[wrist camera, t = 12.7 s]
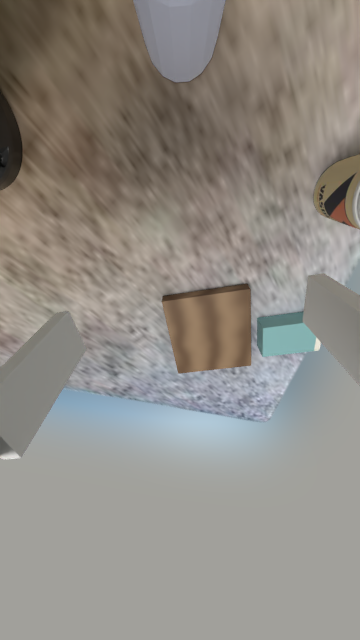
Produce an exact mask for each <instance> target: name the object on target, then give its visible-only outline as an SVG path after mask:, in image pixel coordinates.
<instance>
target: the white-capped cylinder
mask: <svg viewBox="0 0 360 640" xmlns="http://www.w3.org/2000/svg"><path fill="white" fill-rule="evenodd" d="M313 201H314V205H315V208H316V210H317V211H318V212H319V213H320V214H321V215H323V216H325V217H327V218H329V219H332V220H335V221H338V222H340V223H343V224H346V225H349V226H352V227H354V228H357V229H360V154H359V155H356V156H352V157H349V158H346V159H343V160H341V161H338V162H336V163H335V164H333V165H332V166H330V167H329V168H328V169H327V170H326V171H325V172H324V173H323V174H322V175H321V177H320V178H319V180H318V182H317V184H316V187H315V189H314V195H313Z"/></svg>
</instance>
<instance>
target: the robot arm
mask: <svg viewBox="0 0 360 640" xmlns="http://www.w3.org/2000/svg"><path fill="white" fill-rule="evenodd" d="M21 158H22V146H21V139H20V134H19V130H18V127H17V123H16V121H15V118H14V116H13V113H12V111H11V109H10V107H9V105H8V104H7V102H6V100H5V98H4V97H3V95H2V94H1V92H0V190H2V189H4V188H6V187H7V186H9V185H10V184H11V183H12V182H13V181H14V179H15V178H16V176H17V174H18V172H19V169H20V165H21ZM303 322H304V324H305V325H306V326H307V327H308V328H309V329H310V330H311V332H312V333H313V334H314V335H315V336H316V337H317V338H318V339H319V341H320V342H321V343H322V344H323V345H324V346H325V347H326V348H327V350H328V351H329V352H330V353H331V354H332V355H333V356H334V357H335V359H336V360H337V361H338V362H339V363H340V364H341V365H342V367H343V368H344V369H345V370H346V371H347V372H348V373H349V374H350V375H351V377H352V378H353V379H354V380H355V381H356V382H357V383H358V385H359V386H360V295H358V294H356V293H355V292H353V291H351V290H350V289H348V288H347V287H345V286H343V285H342V284H340V283H338V282H337V281H335V280H334V279H332V278H330V277H329V276H327V275H325V274H317V275H310V276H308V281H307V289H306V297H305V305H304V313H303ZM86 349H87V348H86V346H85V344H84V342H83V340H82V338H81V336H80V334H79V331H78V329H77V327H76V325H75V323H74V321H73V319H72V317H71V315H70V312H69V311H65V312H59V313H56V314H55V315H54V316H53V317H52V318H51V319H50V320H49V321H47V322H46V323H45V324H44V325H43V326H42V327H41V328H40V329H39V330H38V331H37V332H36V333H35V334H34V335H33V336H32V337H31V338H30V339H29V340H28V341H27V342H26V343H25V344H24V345H23V346H22V347H21V348H20V349H19V350H18V351H17V352H16V353H15V354H14V355H13V356H12V357H11V358H10V359H9V360H8V361H7V362H6V363H5V364H4V365H3V366H2V367H1V368H0V457H1V458H2V459H14V458H21V457H22V456H23V454H24V452H25V451H26V449H27V447H28V446H29V444H30V442H31V441H32V439H33V437H34V436H35V434H36V432H37V431H38V429H39V427H40V426H41V424H42V422H43V421H44V419H45V417H46V416H47V414H48V412H49V411H50V409H51V407H52V406H53V404H54V403H55V401H56V399H57V398H58V396H59V394H60V393H61V391H62V389H63V388H64V386H65V384H66V383H67V381H68V379H69V378H70V376H71V374H72V373H73V371H74V369H75V368H76V366H77V364H78V363H79V361H80V359H81V358H82V356H83V354H84V353H85V351H86Z"/></svg>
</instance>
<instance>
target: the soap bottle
mask: <svg viewBox="0 0 360 640" xmlns="http://www.w3.org/2000/svg"><path fill="white" fill-rule="evenodd" d="M225 1H226V0H133V2H134V5H135V9H136V13H137V16H138V20H139V23H140V27H141V31H142V34H143V38H144V42H145V45H146V48H147V50H148V53H149V56H150V59H151V61H152V63H153V65H154V66H155V67H156V68H157V70H158V71H159V72H160V73H161V75H162V76H163V77H165V78H168V79H170V80H172V81H174V82H189V81H191V80H192V79H194V78H195V77H197V76H198V75H200V74H201V73H202V72H203V70H204V69H205V67H206V66H207V64H208V63H209V61H210V60H211V58H212V55H213V51H214V48H215V45H216V41H217V38H218V33H219V29H220V24H221V19H222V15H223V10H224V6H225Z"/></svg>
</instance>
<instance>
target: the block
mask: <svg viewBox="0 0 360 640" xmlns="http://www.w3.org/2000/svg"><path fill="white" fill-rule="evenodd" d="M303 313H304V312H298V313H290V314H283V315H275V316H268V317H260V318H257V346H258V348H259V350H260V352H261V354H262V357H266V356H274V355H283V354H292V353H300V352H309V351H317V350H319V349H320V344H321V342H320V341H319V339H318V338H317V337H316V336H315V335H314V334H313V333H312V332H311V330H310V329H309V328H308V327H307V326H306V325H305V324H304V322H303Z"/></svg>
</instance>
